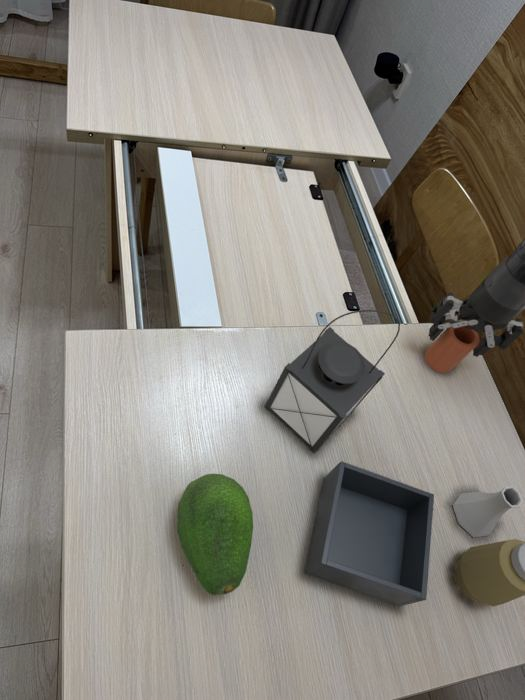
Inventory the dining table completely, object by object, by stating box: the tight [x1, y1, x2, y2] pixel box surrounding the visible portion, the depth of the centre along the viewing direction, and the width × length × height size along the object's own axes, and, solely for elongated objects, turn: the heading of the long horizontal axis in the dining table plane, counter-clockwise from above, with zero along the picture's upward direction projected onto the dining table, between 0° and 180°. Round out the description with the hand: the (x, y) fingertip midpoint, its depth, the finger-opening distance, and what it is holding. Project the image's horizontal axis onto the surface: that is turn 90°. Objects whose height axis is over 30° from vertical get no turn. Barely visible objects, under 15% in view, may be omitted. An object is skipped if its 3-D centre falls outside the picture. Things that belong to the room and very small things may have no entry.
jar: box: [424, 326, 481, 374], centre depth 93 cm, size 6×6×9 cm
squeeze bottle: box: [454, 538, 525, 607], centre depth 68 cm, size 8×8×18 cm
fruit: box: [176, 473, 254, 596], centre depth 66 cm, size 15×10×10 cm, turn 6°
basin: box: [303, 460, 435, 607], centre depth 72 cm, size 14×14×8 cm
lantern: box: [264, 309, 401, 454], centre depth 74 cm, size 11×11×28 cm
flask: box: [452, 485, 524, 538], centre depth 77 cm, size 7×7×10 cm
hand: (453, 344), depth 93 cm, fingers open, 8 cm apart
